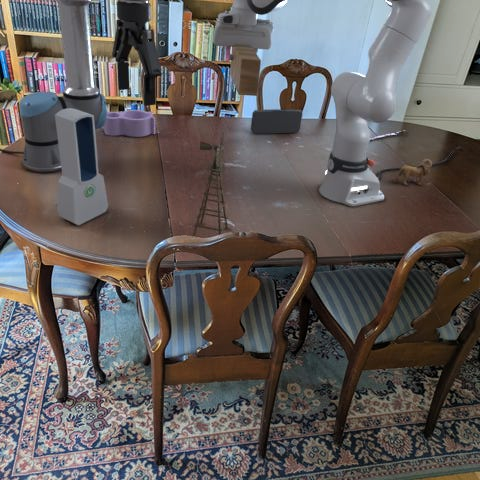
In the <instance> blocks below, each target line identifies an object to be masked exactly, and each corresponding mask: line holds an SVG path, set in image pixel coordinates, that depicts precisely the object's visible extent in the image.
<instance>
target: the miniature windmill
mask: <svg viewBox="0 0 480 480" xmlns="http://www.w3.org/2000/svg"><path fill="white" fill-rule="evenodd" d="M225 137H226V134H225V133H222V132H221V133H220V137H219V138H220V139H218V141H219V142H218V143H217V145H214V146H213V145H212V144H211V143H208V142H205V141H202V140H201V141H199V150H200V151H211V150H213V151H215V155H214V156H213V162H209V163H208V166H207V167H206V168H205V170H207V171H209V175H208V177H207V183H206V185H205V186H206V187H205V191H204V192H203V198H202V200H201V205H200V208H199V210H198V211H199V212H198V214H197V217H196V222H195V224H194V230H193V233H192V237H193V236H195V237H196V234H197V232H198V231H197V230H198V228H201V229H207V230H213V231H218V236H219V235H220V234H221V235H222V232H223V231H222V230H223V229H224V227H225V230H228V229H229V225H228V219H229V216H227V211H226V201H225V196H224V188H223V182H222V174H221V173H225V171H226V168H227V167H228V166H227V165H225V164H221V163H222V159H223V158H224V157H223V155H224V153H225V152H224V149H226V148H225V143H226V142H225ZM213 176H215V177H216V178H213ZM212 181H214V182H216V186H213V185H211V183H212ZM210 189H216V193H215V194H214V193H210ZM209 196H212V197H217V199H211V198H209ZM220 197H221V200H220ZM208 201H210V202H215V203H217V210H215V209H209V208H206V207H207V204H208ZM222 210H223V212H222ZM206 211H208V212H213V213H217V214H212V213H207V212H206ZM221 212H222V213H223V215H221ZM205 216H209V217H210V216H211V217H216V218H218V219H217V220H218V221H217V222H218V228H214V227H209V226H203V222H204V217H205ZM221 219H224V222H223V224H222V221H221ZM199 224H200V225H199Z"/></svg>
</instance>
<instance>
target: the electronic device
mask: <svg viewBox="0 0 480 480" xmlns="http://www.w3.org/2000/svg"><path fill="white" fill-rule="evenodd" d="M55 121H56V129H57V137H58V145H59V153H60V161H61V168H62V170H61V176H60V177H59V179H58V181H57V190H56V191H57V193H56V195H57V196H56V212H57V213H58V215H59V217H60V218H62V219H64V220H66V221H68V222H69V223H72V224H74V225H76V226H81V225H82V224H84V223H86V222H88V221H90V220H92V219H94V218H96V217H98V216H100V215H102V214H104V213H106V212H107V210H108V208H109V203H108V197H107V191H106V185H105V179H104V175H103V174H101V173H99V163H98V150H97V148H98V147H97V136H96V129H95V123H94V115H91V114H88V113H85V112H82V111H80V110H77V109H73V108H67V109H63V110H61V111H59V112H58V113H56V114H55Z"/></svg>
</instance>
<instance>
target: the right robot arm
mask: <svg viewBox="0 0 480 480" xmlns="http://www.w3.org/2000/svg"><path fill="white" fill-rule="evenodd" d="M288 1H289V0H233V2H232V5H231V10H229V11H224V12H221V13H219V14H218V15H217V20H218V21H217V22H216V24H215V25H214V30H213V35H212V43H213V44H214V46H216V47H225V50H226V52H227V55H228V56H227V60H228V61H231V60H233V55H232V53H230V51H231V48H232V47H234V45H237V46H251V47H252V48H253V50H254V51H255V53H256V54H257V55H258V51H259V50H270V49H271V48H272V42H273V41H272V34H273V33H274V28H275V26H274V23H273V22H272V21H271V20H270V19H261V18H258V17H259V15H260V16H265V15H267V14H270V13H272V12H275V11H278V10H280V9H282V8H283V7H285V5H286V4H287V3H288ZM384 2H385V3H386V4H387V6H389V7H390V8H391V9H390V13H389V15H388V17H387V18H386V20H385V22H384V24H383V25H382V27H381V28H380V30H379V32H378V33H377V35H376V37H375V39H374V40H373V42H372V44H371V45H370V47H369V49H368V53H367V56H368V57H367V58H368V60H369V63H368V67H367V71H366V74H365V75H363V74H362V73H361V74H360V73H359V72H352V71H345V72H342V73H340V74H338V75H337V76H336V77H335V78H334V80H333V81H332V84H331V87H330V93H331V96H332V98H333V102H334V108H335V134H334V141H333V145H332V150H331V151H330V153H329V157H328V161H327V170H325V173H324V175H325V176H324V178H323V181H322V183H321V185H320V187H319V188H318V191H319V193H320V195H321V196H323V198H326V199H327V200H330V201H332V202H336V203H340V204H343V205H346V206H349V207H357V206H363V205H368V204H373V203H378V202H382V201H384V200H385V195H384V193H383V191H382V190H380V186H381V183H380V178H381V174H382V173H384V172H389V171H390V172H391V171H399V170H400V169H401V168H402V167H403V166H400V167H399V166H398V167H389V168H383V169H381V170H379V171H378V173H377V175H375V173H374V172H373V170H372V169H370V168H373V167H374V166H375V165H376V162H375V161H374V160H373V159H369V157H368V156H367V153H368V149H369V146H370V142H371V141H370V138H372V137H371V131H370V128H369V124H368V122H371V123H376V124H382V123H385V122H386V121H388V120H389V119H390V118H391V117H392V116H393V114H394V113H395V111H396V108H397V103H398V102H397V101H398V100H397V96H396V90H397V89H396V88H397V82H398V79H399V76H400V73H401V71H402V69H403V67H404V65H405V64H406V61H407V60H408V58H409V56H410V55H411V53H412V51H413V50H414V48H415V47H416V45H417V43H418V42H419V40H420V39H421V37H422V35H423V32H424V31H425V29H426V26H427V24H428V22H429V19H430V16H431V14H432V7H431V4H430V3H429V2H428V0H384ZM459 148H462V147H461V146H458V147H456V149H459ZM459 150H460V151H463V148H462V149H459ZM453 151H454V150H453ZM453 151H451V152H450V153H449V155H448V156H447V157H446V158H445V159H442V160H440V161H437V162H434V163H433V162H432V167H433V166H438V165H441V164H443V163H445V162H447V161H448V160H449V159H451V157H452V156H453V154H455V153H456V152H457V151H454V152H453ZM452 152H453V153H452ZM451 153H452V154H451ZM450 154H451V156H450ZM449 156H450V157H449ZM448 157H449V158H448ZM447 158H448V159H447ZM409 166H410V167H418V166H419V165H409ZM369 167H370V168H369Z"/></svg>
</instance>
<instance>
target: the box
mask: <svg viewBox="0 0 480 480" xmlns="http://www.w3.org/2000/svg"><path fill="white" fill-rule="evenodd" d="M231 54H232V55H233V60H230V70H229V75H230V77H231V81H232V82H233V85H234V87H235V90H236V92H237V95H238V96H251V97H252V96H254V97H258V92H259V85H260V84H259V82H260V73H261V65H262V60H261V58H260V56H259V55H258V53H257V54H256V53H255V51H254V50H253V48H252V47H251V46H237V45H234V47H231Z"/></svg>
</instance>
